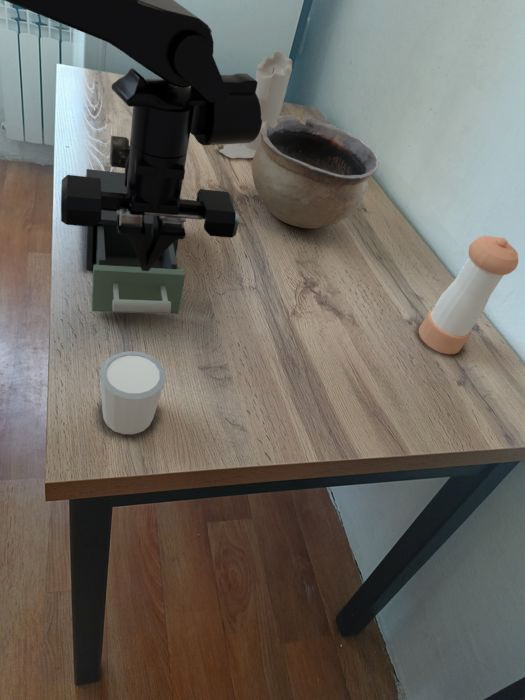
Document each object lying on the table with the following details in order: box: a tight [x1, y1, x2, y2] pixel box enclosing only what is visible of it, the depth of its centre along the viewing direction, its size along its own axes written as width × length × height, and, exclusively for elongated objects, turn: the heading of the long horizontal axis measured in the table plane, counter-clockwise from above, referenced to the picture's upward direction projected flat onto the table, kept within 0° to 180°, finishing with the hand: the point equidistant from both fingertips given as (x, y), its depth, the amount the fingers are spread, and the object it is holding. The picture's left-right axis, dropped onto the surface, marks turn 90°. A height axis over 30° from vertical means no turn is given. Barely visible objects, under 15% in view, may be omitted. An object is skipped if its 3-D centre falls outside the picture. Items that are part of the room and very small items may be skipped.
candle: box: [218, 49, 293, 159], centre depth 114 cm, size 7×14×20 cm, turn 138°
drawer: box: [91, 224, 186, 315], centre depth 73 cm, size 17×11×7 cm, turn 14°
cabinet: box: [84, 168, 180, 271], centre depth 82 cm, size 14×13×9 cm
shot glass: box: [99, 350, 167, 435], centre depth 59 cm, size 7×7×7 cm
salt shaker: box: [418, 235, 519, 355], centre depth 81 cm, size 7×7×19 cm
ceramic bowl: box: [251, 114, 380, 229], centre depth 100 cm, size 22×22×15 cm
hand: (144, 268), depth 65 cm, fingers closed
